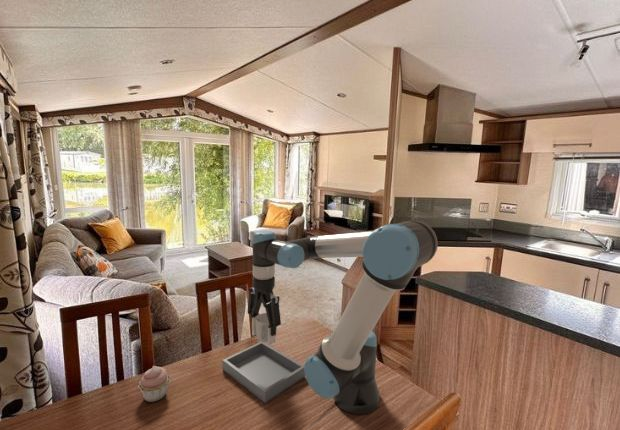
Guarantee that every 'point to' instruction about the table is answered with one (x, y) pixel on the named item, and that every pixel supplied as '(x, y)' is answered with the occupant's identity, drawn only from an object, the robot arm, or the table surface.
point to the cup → (262, 327)
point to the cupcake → (154, 384)
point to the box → (263, 371)
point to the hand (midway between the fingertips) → (263, 338)
